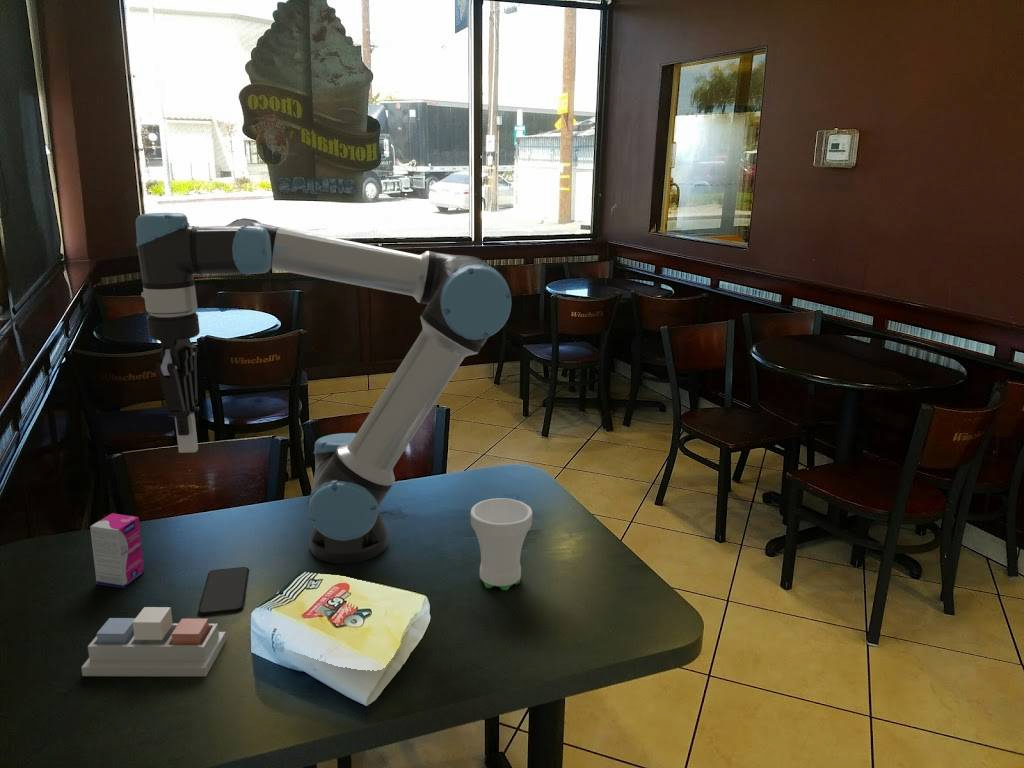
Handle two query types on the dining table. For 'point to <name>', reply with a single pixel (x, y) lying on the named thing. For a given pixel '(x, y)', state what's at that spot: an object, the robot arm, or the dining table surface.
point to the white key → (152, 623)
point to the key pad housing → (154, 657)
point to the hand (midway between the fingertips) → (188, 450)
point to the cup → (501, 539)
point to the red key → (190, 632)
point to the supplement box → (117, 550)
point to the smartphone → (224, 591)
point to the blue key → (116, 631)
